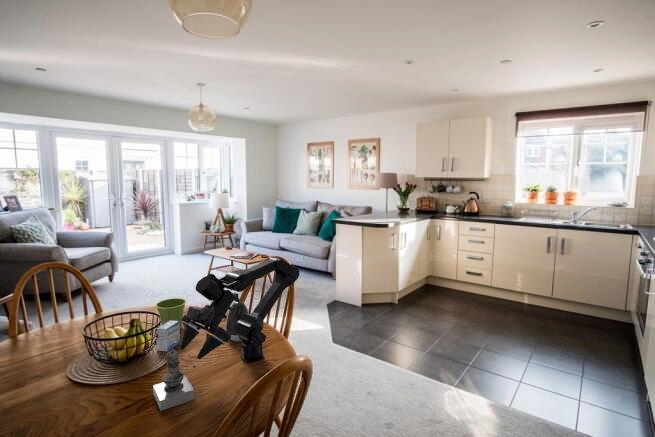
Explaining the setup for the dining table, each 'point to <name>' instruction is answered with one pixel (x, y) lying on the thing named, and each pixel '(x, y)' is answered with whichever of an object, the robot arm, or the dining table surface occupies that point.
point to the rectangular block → (173, 395)
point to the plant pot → (171, 310)
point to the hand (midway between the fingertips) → (189, 354)
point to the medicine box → (168, 335)
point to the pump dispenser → (235, 318)
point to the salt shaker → (173, 373)
